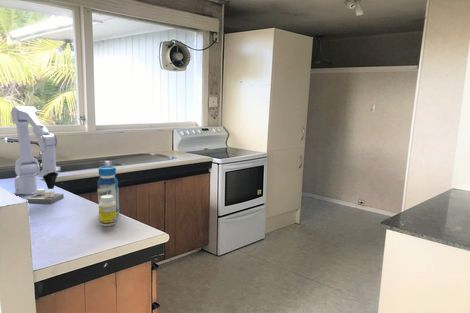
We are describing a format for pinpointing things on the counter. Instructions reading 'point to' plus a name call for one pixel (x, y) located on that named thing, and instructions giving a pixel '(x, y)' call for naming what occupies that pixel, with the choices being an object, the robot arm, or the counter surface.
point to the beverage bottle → (108, 184)
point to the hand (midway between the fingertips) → (50, 188)
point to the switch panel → (45, 198)
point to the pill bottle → (107, 210)
